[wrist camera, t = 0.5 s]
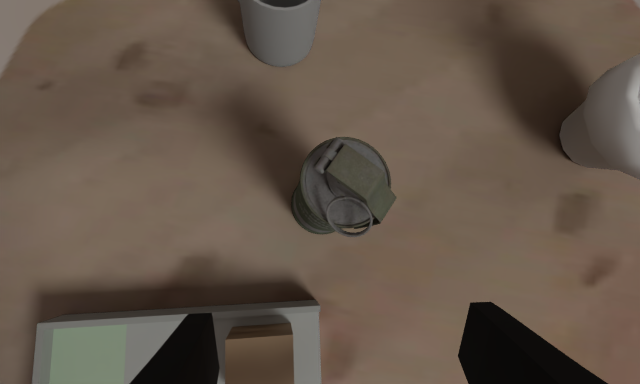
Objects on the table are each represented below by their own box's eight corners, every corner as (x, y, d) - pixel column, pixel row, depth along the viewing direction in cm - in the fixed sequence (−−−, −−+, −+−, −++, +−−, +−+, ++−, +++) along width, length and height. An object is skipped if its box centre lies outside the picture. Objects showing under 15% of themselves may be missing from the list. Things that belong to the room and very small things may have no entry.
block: (292, 384, 28) (294, 406, 25) (232, 389, 28) (224, 413, 24) (290, 322, 29) (293, 334, 25) (232, 326, 29) (225, 339, 25)
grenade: (278, 211, 33) (281, 184, 18) (313, 163, 34) (343, 100, 19) (331, 249, 33) (376, 251, 18) (364, 199, 34) (432, 164, 19)
